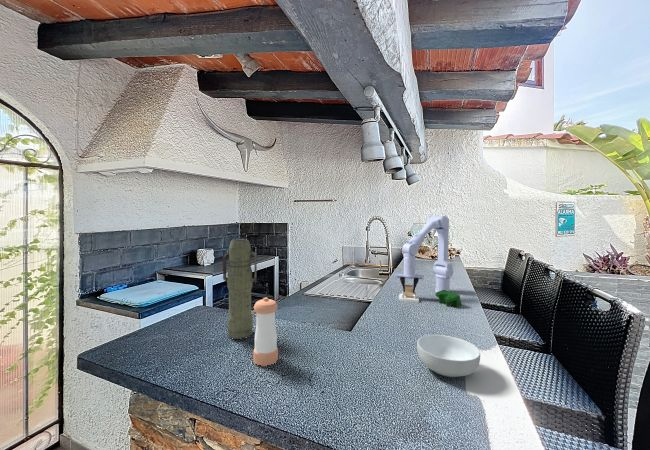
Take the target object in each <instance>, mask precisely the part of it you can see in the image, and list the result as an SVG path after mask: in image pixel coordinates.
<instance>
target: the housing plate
mask: <svg viewBox="0 0 650 450" xmlns="http://www.w3.org/2000/svg"><path fill="white" fill-rule="evenodd" d="M398 302H406V303H407V302H409V303H420V295H419V294H417V292H416V291H415V292H414V293H413V297H410V296H405V292H404V291H403V290H402V291H401V293H399V295H398Z"/></svg>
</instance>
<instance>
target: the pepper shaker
mask: <svg viewBox="0 0 650 450" xmlns="http://www.w3.org/2000/svg"><path fill="white" fill-rule="evenodd" d="M278 307H279V306H278V303H277V301H276V300H273V299H271V298H270V299H269V298H268V297H262V299H259V300H257V301H256V302H255V304H254V306H253V309H254V311H255V313H256V322H255V323H256V324H255V325H256V327H255V333H254V349H253V354H252V355H253V363H255V364H257V365H256V366H258V365H261V366H260V367H267V366H266V365H270V366H272V365H271V364H273V363H275V362H276V361H277V360H278V361H279V347H278V335H277V328H276V311H277V309H278ZM278 361H277V362H278ZM277 362H276V363H277ZM276 363H275V364H276ZM255 364H254V365H255ZM273 365H274V364H273Z"/></svg>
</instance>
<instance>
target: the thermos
mask: <svg viewBox="0 0 650 450" xmlns="http://www.w3.org/2000/svg"><path fill="white" fill-rule="evenodd" d="M251 247H252V246H251V244H250V240H248V239H247V238H233V239H232V240H231V241H230V244H229V247H228V252H225V253H223V254H224V255H222V272H223V273H222V279H223V280H224V282H226V284H227V285H226V287H227V289H228V318H227V325H226V327H227V337H228V336H229V337H230V338H233V339H240V338H245V337H248V336H250V335H252V336H253V328H254V321H253V320H254V319H253V316H252V289H253V282H254V281H257V278H258V277H257V270H258V269H257V268H258V267H257V264H258V263H257V262H258V261H257V258H258V255H257V254H256V253H255V251H252V250H251V249H252V248H251ZM252 255H253V258H254V275H253V269H252V266H251V265H252V263H251V260H252V258H251V257H252ZM227 256H228V262H229V265H228V271H227ZM229 337H228V338H229ZM250 337H251V336H250ZM230 338H229V339H230ZM233 339H232V340H233Z"/></svg>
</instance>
